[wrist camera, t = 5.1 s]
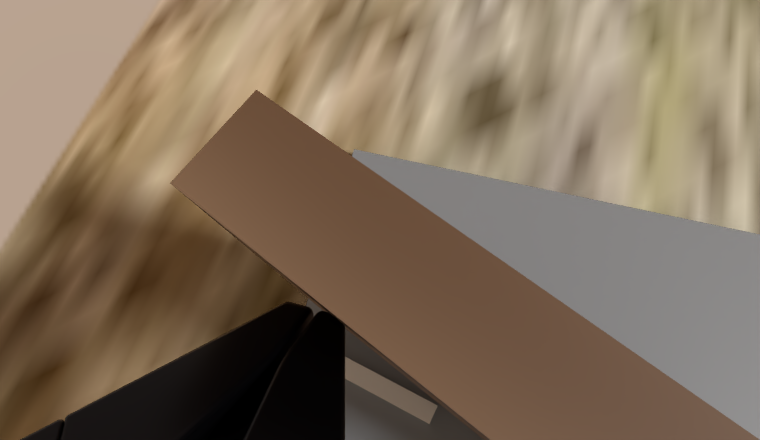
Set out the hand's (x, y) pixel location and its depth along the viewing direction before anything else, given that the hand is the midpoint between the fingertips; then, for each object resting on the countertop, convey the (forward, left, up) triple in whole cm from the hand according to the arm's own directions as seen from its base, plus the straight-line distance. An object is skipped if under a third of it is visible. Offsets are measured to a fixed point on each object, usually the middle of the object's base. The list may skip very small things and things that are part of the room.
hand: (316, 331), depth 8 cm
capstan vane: (0, -4, -6) cm, 8 cm away
